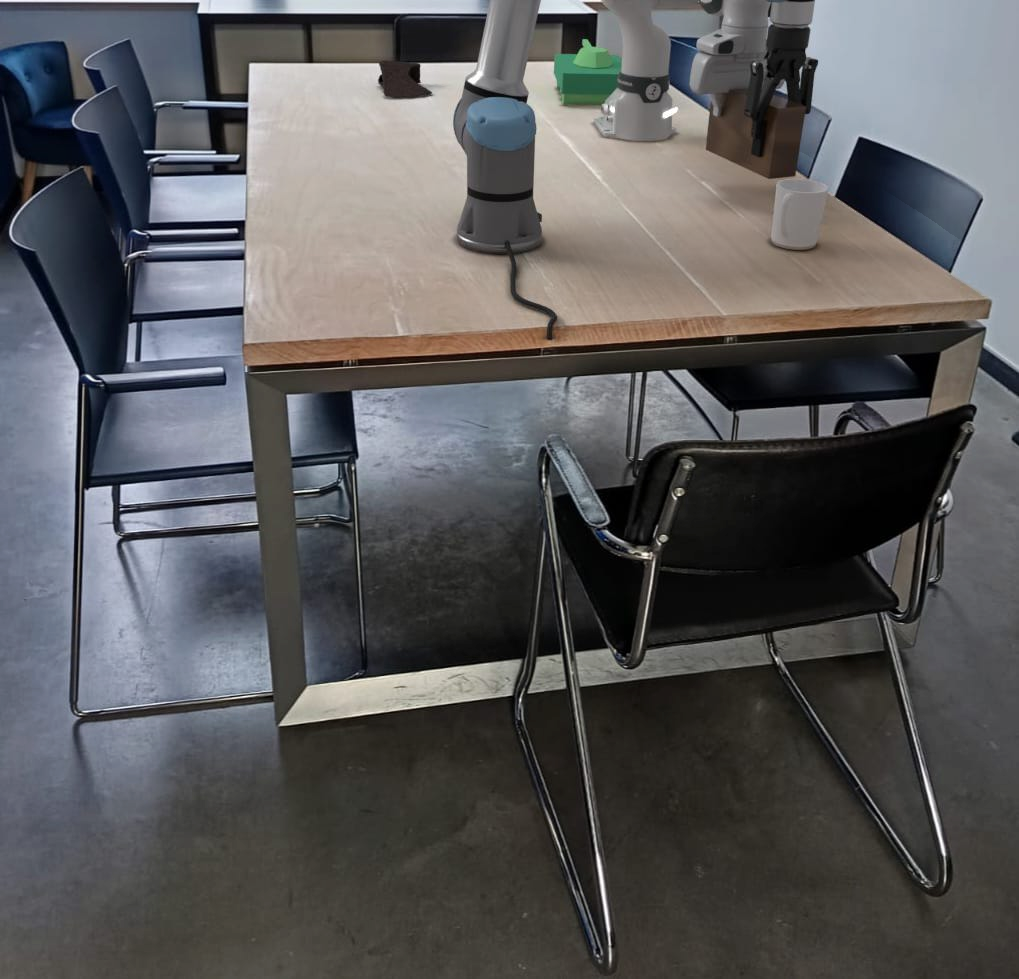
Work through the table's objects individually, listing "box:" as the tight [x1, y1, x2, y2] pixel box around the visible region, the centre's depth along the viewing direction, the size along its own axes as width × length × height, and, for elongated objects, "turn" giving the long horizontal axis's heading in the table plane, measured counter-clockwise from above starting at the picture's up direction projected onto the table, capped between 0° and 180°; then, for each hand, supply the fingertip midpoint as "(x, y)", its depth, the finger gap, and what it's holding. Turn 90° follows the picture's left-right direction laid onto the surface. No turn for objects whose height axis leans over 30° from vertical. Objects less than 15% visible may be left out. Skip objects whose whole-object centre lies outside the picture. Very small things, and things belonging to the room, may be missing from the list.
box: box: [705, 89, 806, 180], centre depth 214 cm, size 23×6×13 cm, turn 23°
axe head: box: [377, 59, 433, 99], centre depth 299 cm, size 18×8×15 cm
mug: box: [770, 178, 829, 251], centre depth 194 cm, size 11×9×10 cm
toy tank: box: [553, 38, 622, 106], centre depth 299 cm, size 18×12×35 cm
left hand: (771, 153), depth 210 cm, fingers closed on box, 6 cm apart
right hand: (733, 114), depth 219 cm, fingers closed on box, 6 cm apart
